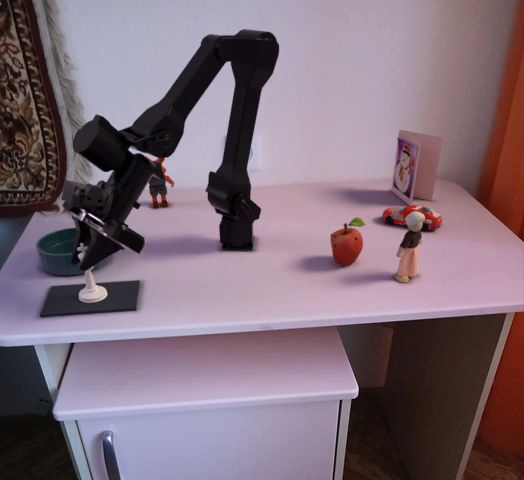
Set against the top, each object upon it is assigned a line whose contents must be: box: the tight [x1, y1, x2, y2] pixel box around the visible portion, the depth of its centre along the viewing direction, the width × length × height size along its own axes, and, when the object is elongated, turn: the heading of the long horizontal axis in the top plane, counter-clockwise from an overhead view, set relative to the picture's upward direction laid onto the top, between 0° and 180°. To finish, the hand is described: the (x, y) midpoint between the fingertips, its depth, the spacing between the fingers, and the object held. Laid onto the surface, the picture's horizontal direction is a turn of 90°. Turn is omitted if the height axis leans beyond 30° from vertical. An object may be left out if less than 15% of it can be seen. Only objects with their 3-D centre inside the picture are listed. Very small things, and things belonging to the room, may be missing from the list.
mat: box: [39, 279, 141, 318], centre depth 96 cm, size 16×10×1 cm, turn 97°
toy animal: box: [144, 155, 175, 209], centre depth 128 cm, size 8×6×12 cm
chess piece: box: [77, 243, 107, 303], centre depth 93 cm, size 5×5×10 cm
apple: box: [330, 216, 366, 267], centre depth 103 cm, size 8×7×10 cm
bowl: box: [35, 226, 110, 276], centre depth 107 cm, size 13×13×4 cm
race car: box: [381, 204, 443, 232], centre depth 120 cm, size 13×5×4 cm, turn 60°
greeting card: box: [390, 129, 444, 206], centre depth 131 cm, size 11×7×15 cm, turn 14°
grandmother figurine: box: [394, 211, 425, 284], centre depth 98 cm, size 8×4×13 cm, turn 148°
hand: (77, 266), depth 91 cm, fingers open, 3 cm apart
